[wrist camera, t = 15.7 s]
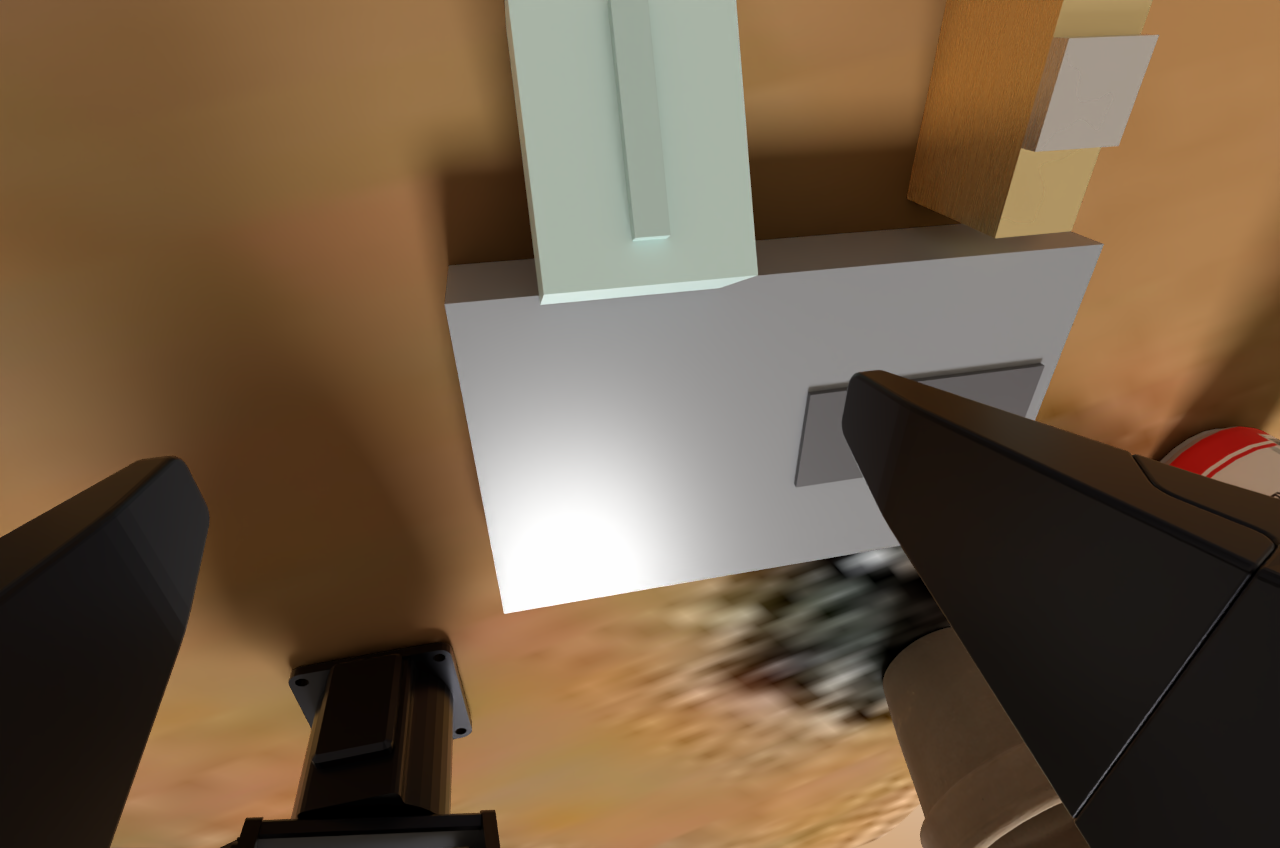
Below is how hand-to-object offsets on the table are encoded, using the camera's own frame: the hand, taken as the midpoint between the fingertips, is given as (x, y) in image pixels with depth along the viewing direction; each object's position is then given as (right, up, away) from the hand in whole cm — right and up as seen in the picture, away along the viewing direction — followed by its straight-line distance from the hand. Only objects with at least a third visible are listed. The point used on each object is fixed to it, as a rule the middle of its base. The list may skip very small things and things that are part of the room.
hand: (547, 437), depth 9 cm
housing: (+5, +1, +15) cm, 16 cm away
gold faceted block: (+11, +11, +11) cm, 19 cm away
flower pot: (+18, -13, +28) cm, 36 cm away
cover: (+1, +7, +8) cm, 11 cm away
